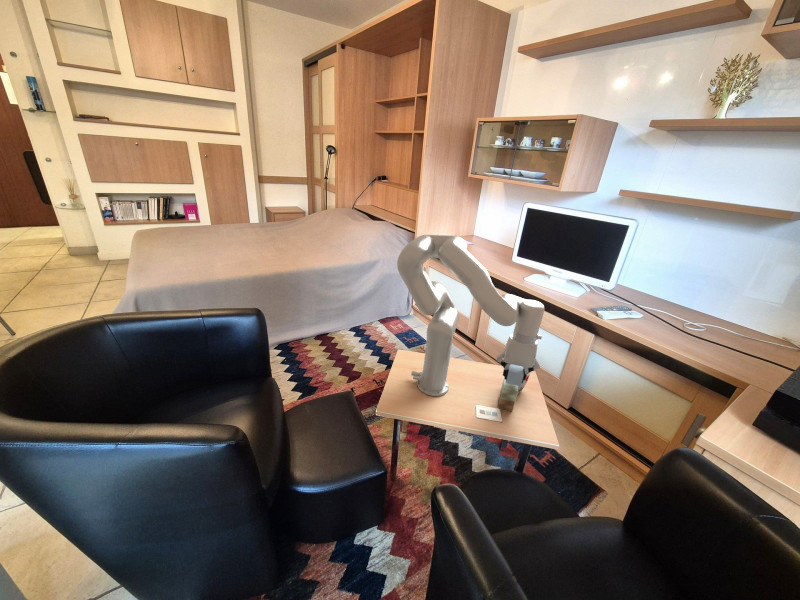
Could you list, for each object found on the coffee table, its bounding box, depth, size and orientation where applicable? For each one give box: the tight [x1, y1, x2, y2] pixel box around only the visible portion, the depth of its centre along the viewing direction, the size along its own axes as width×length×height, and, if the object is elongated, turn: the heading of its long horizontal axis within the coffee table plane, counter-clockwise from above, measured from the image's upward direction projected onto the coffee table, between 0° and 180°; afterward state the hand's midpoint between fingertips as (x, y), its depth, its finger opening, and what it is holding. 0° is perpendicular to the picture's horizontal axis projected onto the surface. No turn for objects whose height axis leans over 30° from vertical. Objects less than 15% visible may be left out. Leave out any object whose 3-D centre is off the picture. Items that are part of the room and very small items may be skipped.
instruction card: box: [475, 404, 503, 423], centre depth 120 cm, size 9×6×1 cm
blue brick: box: [506, 364, 524, 386], centre depth 118 cm, size 5×5×5 cm
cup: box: [518, 367, 532, 394], centre depth 132 cm, size 8×8×10 cm
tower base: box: [497, 379, 519, 413], centre depth 122 cm, size 5×5×10 cm
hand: (513, 378), depth 119 cm, fingers closed on blue brick, 5 cm apart
